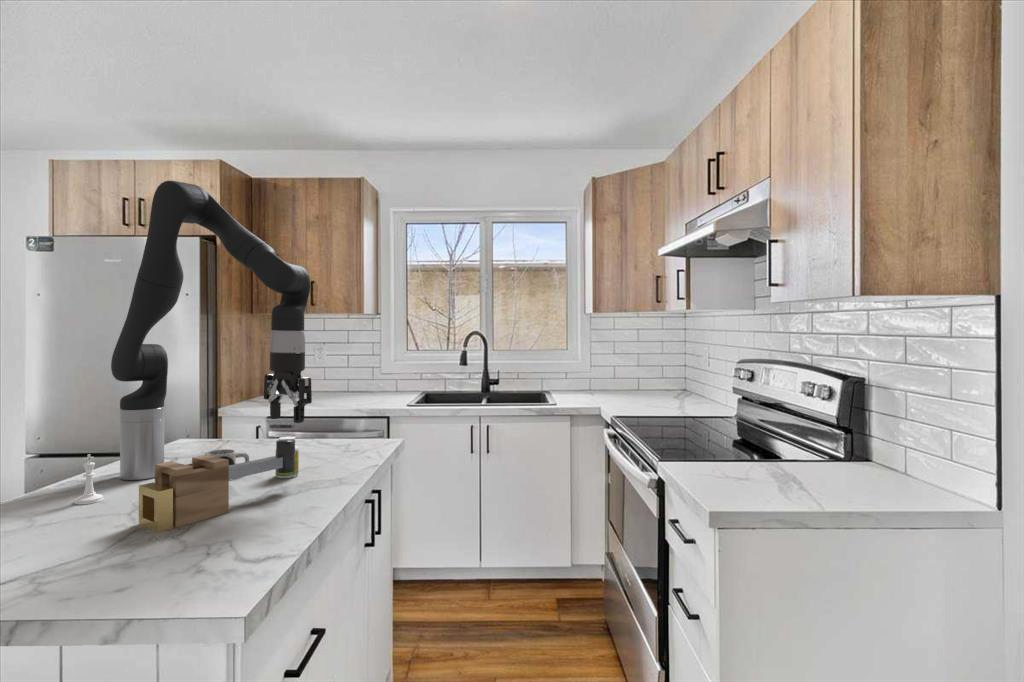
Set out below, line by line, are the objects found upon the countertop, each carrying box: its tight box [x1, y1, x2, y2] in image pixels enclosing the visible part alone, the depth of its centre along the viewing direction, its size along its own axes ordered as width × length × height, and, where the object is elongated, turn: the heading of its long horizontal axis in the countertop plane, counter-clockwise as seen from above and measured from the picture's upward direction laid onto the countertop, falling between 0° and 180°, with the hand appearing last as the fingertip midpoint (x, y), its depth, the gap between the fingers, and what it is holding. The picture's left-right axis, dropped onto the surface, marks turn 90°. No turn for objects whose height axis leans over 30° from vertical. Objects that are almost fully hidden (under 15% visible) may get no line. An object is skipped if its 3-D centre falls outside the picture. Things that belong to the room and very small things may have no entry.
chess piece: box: [74, 453, 105, 506], centre depth 116 cm, size 5×5×10 cm
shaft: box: [229, 439, 296, 481], centre depth 116 cm, size 4×25×7 cm, turn 148°
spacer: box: [138, 481, 174, 533], centre depth 102 cm, size 7×2×7 cm, turn 58°
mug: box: [204, 448, 250, 481], centre depth 136 cm, size 10×7×7 cm
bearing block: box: [154, 454, 230, 528], centre depth 107 cm, size 8×10×11 cm
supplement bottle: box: [275, 436, 300, 479], centre depth 138 cm, size 5×5×10 cm
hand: (286, 420), depth 125 cm, fingers open, 8 cm apart
